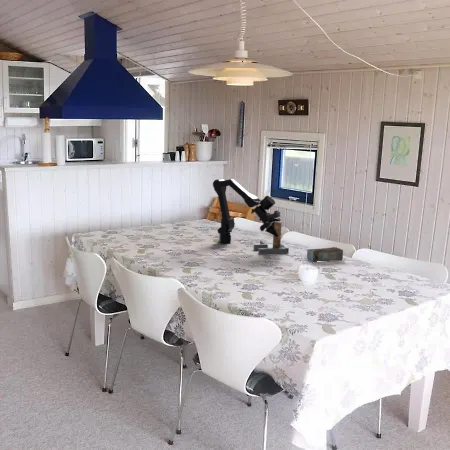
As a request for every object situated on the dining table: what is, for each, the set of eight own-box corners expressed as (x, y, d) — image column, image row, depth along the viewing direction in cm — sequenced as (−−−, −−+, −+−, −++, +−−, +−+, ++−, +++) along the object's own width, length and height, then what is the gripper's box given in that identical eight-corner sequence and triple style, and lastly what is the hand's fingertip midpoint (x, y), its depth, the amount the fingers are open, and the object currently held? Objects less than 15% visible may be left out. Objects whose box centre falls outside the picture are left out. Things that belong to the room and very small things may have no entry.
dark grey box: (305, 259, 302) (306, 247, 301) (335, 257, 309) (336, 246, 307) (312, 263, 295) (313, 251, 294) (343, 261, 301) (344, 249, 300)
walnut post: (274, 249, 315) (275, 222, 312) (271, 248, 319) (273, 221, 316) (281, 249, 316) (282, 222, 313) (278, 247, 320) (280, 221, 317)
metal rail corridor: (258, 254, 310) (259, 249, 309) (248, 245, 329) (248, 240, 329) (288, 253, 314) (288, 248, 313) (276, 244, 334) (276, 239, 333)
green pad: (267, 248, 323) (267, 247, 323) (262, 245, 331) (262, 244, 331) (278, 248, 325) (278, 247, 325) (273, 244, 333) (274, 244, 333)
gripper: (265, 208, 306) (282, 230, 303) (278, 204, 322) (294, 224, 319) (252, 220, 311) (269, 241, 309) (265, 215, 327) (281, 235, 325)
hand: (279, 235), depth 315 cm, fingers closed on walnut post, 4 cm apart
